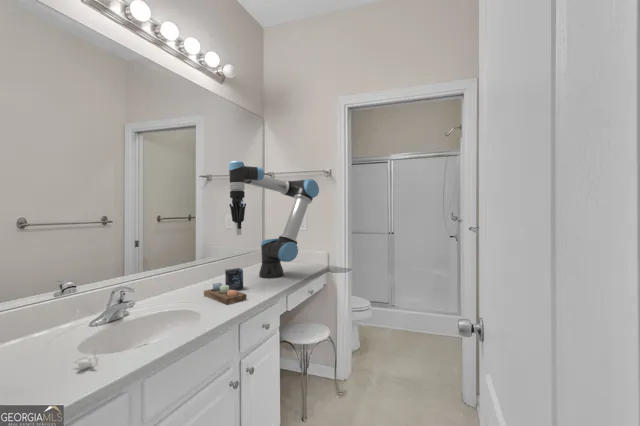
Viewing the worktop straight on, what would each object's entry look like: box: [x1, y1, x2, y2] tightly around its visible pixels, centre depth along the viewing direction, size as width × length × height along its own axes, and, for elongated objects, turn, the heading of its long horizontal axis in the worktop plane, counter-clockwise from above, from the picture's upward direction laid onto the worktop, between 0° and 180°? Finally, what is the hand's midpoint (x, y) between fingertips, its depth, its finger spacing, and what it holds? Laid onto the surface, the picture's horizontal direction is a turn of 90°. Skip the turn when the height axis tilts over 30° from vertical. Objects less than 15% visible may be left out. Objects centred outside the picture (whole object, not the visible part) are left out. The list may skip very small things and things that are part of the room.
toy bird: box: [73, 349, 99, 370], centre depth 83 cm, size 8×5×5 cm, turn 78°
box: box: [224, 267, 244, 291], centre depth 164 cm, size 8×6×11 cm
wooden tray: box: [203, 288, 247, 305], centre depth 149 cm, size 10×22×2 cm, turn 45°
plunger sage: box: [220, 284, 229, 294], centre depth 149 cm, size 4×4×4 cm
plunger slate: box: [212, 282, 223, 292], centre depth 154 cm, size 4×4×4 cm
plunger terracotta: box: [227, 290, 238, 297], centre depth 144 cm, size 4×4×4 cm
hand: (238, 234), depth 167 cm, fingers closed
